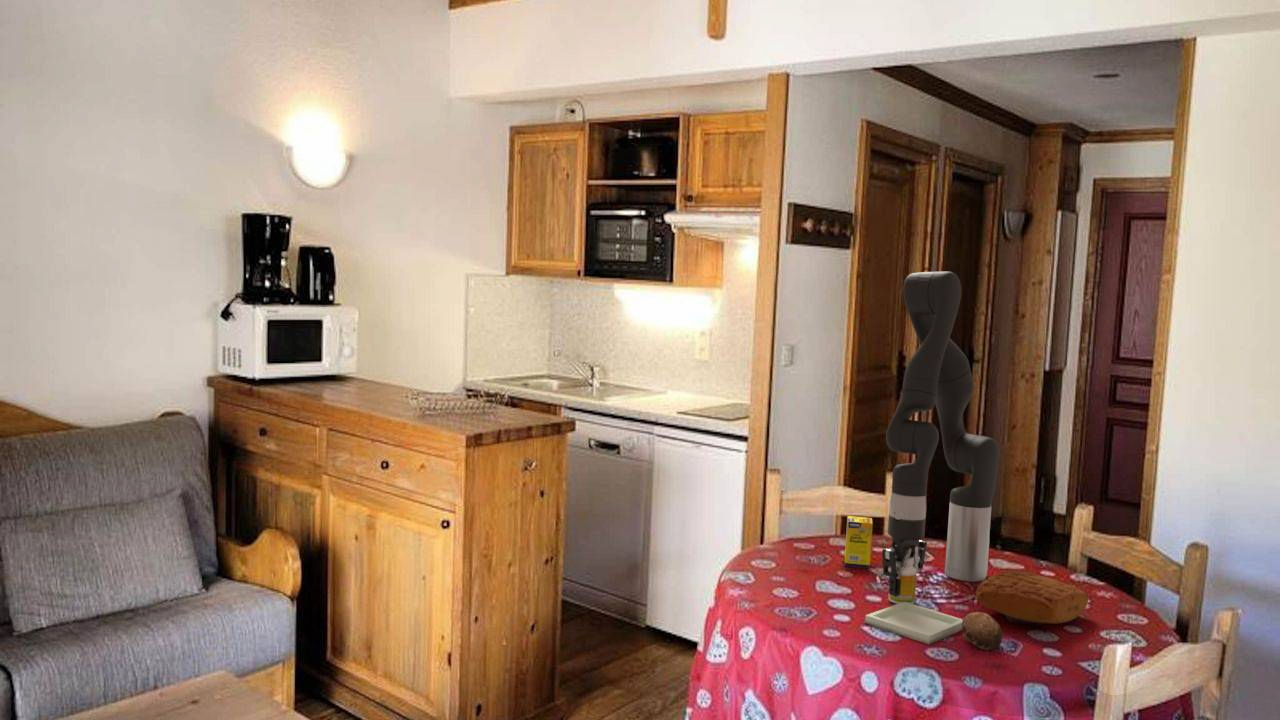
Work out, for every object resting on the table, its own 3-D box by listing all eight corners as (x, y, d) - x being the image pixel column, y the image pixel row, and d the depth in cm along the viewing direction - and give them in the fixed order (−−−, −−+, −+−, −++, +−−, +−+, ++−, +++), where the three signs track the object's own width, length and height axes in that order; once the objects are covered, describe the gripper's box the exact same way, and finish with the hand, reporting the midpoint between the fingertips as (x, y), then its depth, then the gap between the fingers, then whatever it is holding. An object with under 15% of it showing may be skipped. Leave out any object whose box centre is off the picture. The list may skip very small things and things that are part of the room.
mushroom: (949, 618, 189) (968, 598, 186) (985, 634, 190) (1004, 614, 187) (954, 650, 183) (974, 631, 179) (991, 667, 184) (1012, 647, 180)
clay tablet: (1049, 642, 188) (1052, 601, 187) (965, 618, 200) (968, 579, 199) (1093, 618, 203) (1097, 580, 203) (1013, 596, 215) (1016, 561, 215)
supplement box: (870, 568, 232) (873, 523, 231) (844, 566, 233) (847, 521, 232) (869, 562, 238) (872, 517, 237) (844, 559, 239) (847, 515, 238)
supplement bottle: (917, 606, 206) (920, 560, 205) (891, 605, 206) (894, 559, 205) (910, 597, 211) (913, 553, 210) (885, 596, 211) (888, 552, 211)
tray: (903, 609, 204) (904, 601, 204) (966, 628, 194) (966, 620, 193) (865, 623, 194) (865, 615, 194) (928, 644, 184) (929, 636, 184)
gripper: (909, 506, 215) (904, 582, 216) (872, 515, 205) (867, 594, 206) (940, 513, 209) (935, 591, 211) (904, 522, 199) (899, 604, 201)
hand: (901, 592), depth 208 cm, fingers closed on supplement bottle, 5 cm apart
